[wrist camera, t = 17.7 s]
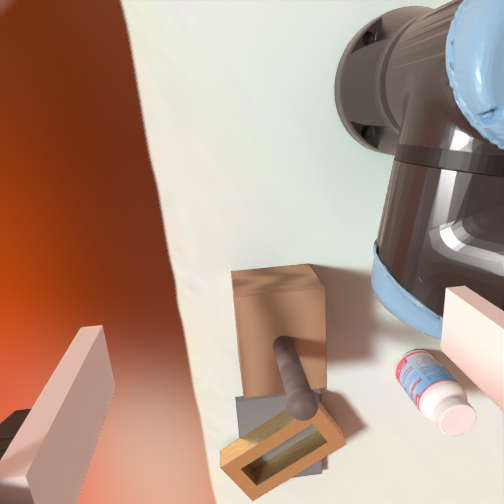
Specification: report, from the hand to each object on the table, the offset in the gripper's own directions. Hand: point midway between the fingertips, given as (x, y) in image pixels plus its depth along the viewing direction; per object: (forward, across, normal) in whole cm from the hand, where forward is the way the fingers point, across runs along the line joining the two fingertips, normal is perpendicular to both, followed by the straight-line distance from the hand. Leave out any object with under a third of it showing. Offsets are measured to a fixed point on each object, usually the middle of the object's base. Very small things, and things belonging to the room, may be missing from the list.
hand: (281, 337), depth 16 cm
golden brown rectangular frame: (+34, +4, -37) cm, 50 cm away
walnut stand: (+35, +4, -17) cm, 39 cm away
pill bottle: (+35, +24, -28) cm, 51 cm away
